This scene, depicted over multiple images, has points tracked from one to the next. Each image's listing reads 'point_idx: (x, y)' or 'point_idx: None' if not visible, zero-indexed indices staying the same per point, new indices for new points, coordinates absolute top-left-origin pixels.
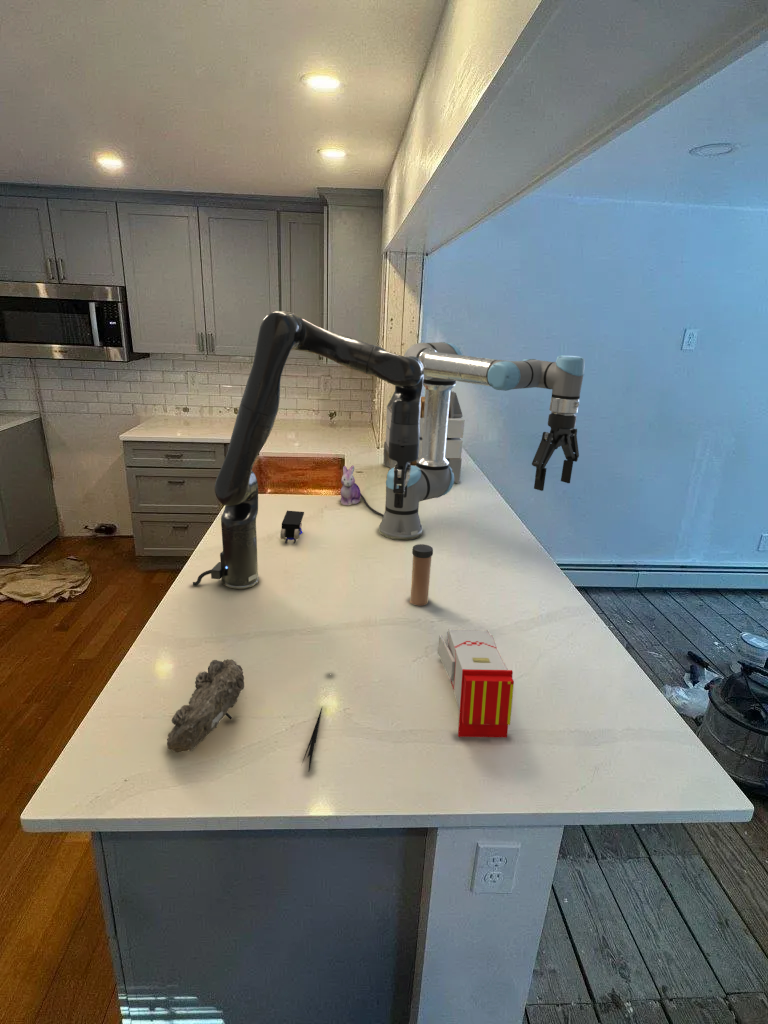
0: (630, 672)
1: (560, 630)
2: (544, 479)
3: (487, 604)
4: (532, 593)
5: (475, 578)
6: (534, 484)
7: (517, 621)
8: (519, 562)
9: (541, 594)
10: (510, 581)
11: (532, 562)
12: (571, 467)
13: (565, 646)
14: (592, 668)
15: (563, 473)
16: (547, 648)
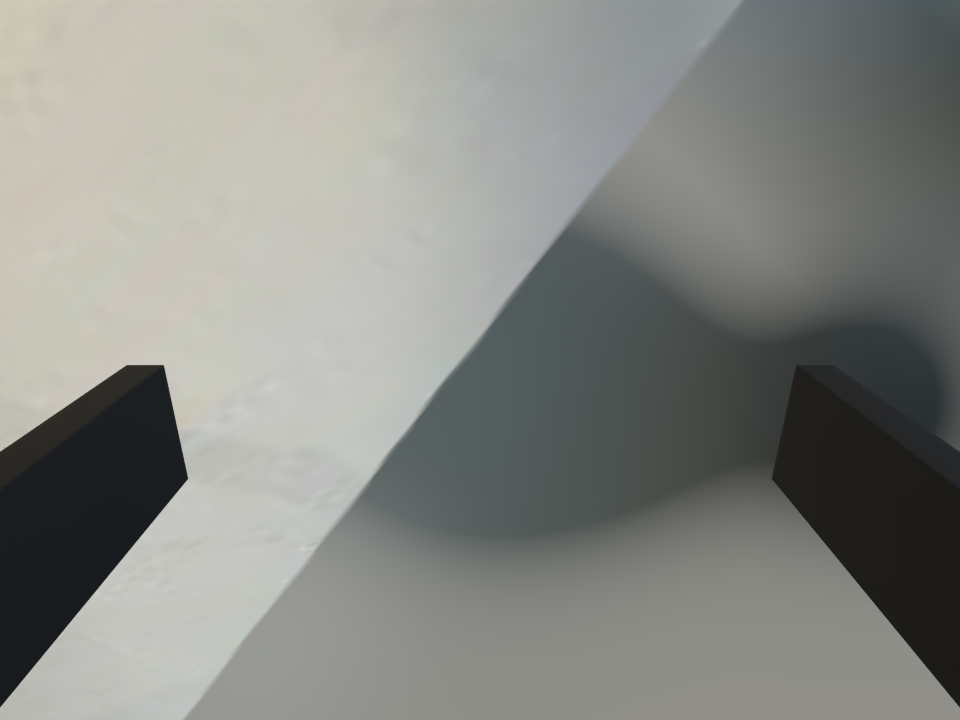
0: (186, 696)
1: (175, 517)
2: (84, 587)
3: (50, 273)
4: (287, 323)
5: (153, 67)
6: (87, 393)
7: None
8: (497, 81)
9: (314, 349)
10: (287, 197)
11: (554, 126)
12: (944, 665)
13: (121, 566)
14: (110, 646)
15: (863, 453)
16: None
